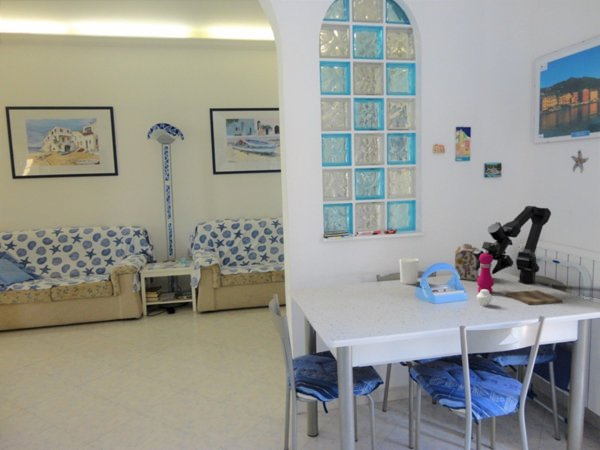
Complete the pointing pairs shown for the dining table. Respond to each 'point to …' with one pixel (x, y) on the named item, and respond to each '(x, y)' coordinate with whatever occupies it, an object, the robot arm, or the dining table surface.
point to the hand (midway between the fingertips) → (483, 271)
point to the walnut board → (534, 297)
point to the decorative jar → (466, 262)
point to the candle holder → (408, 270)
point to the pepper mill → (485, 272)
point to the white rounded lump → (484, 297)
